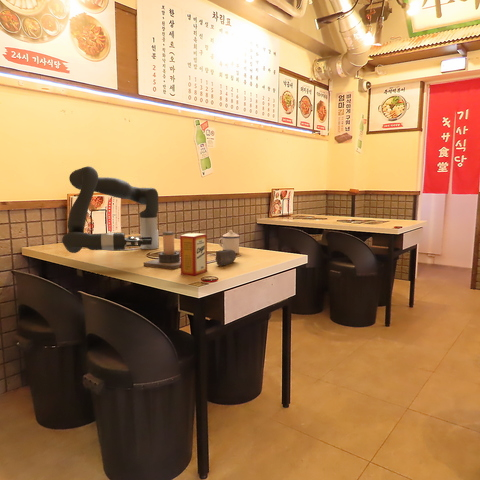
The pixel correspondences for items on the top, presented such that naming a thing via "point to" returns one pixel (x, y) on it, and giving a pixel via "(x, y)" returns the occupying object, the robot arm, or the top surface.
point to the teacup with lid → (230, 241)
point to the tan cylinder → (168, 243)
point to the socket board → (163, 265)
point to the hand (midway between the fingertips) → (151, 240)
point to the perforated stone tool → (225, 257)
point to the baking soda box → (193, 253)
